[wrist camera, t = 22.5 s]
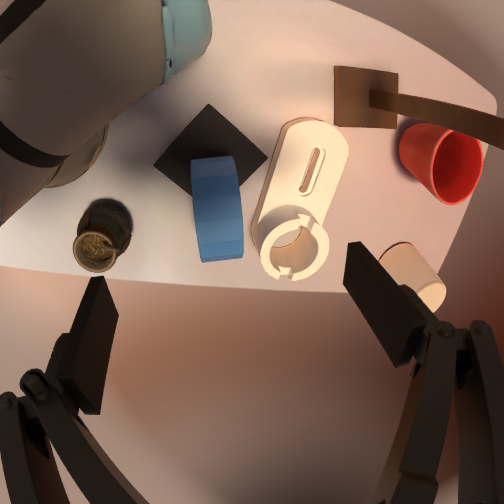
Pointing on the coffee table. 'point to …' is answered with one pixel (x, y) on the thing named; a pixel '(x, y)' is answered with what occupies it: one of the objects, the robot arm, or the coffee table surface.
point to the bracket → (299, 197)
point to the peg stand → (403, 106)
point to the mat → (209, 149)
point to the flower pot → (442, 161)
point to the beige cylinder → (414, 274)
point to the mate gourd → (101, 237)
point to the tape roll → (217, 208)
